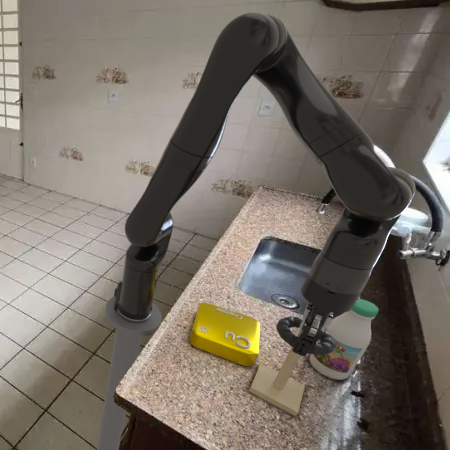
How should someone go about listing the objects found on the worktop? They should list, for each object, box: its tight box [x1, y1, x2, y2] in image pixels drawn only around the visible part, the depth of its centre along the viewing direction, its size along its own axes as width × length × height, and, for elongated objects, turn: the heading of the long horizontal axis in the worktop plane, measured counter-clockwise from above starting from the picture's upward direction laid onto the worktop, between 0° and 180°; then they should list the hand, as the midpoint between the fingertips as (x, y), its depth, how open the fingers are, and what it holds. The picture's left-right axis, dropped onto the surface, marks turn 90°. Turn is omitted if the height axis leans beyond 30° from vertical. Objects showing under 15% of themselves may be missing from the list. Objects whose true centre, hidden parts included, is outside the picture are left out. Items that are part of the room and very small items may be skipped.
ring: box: [275, 315, 335, 355], centre depth 72 cm, size 10×10×2 cm
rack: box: [248, 346, 306, 417], centre depth 77 cm, size 9×9×14 cm
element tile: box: [189, 302, 261, 367], centre depth 93 cm, size 15×15×5 cm
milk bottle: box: [309, 298, 379, 381], centre depth 81 cm, size 8×8×20 cm
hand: (299, 348), depth 70 cm, fingers closed on ring, 2 cm apart
